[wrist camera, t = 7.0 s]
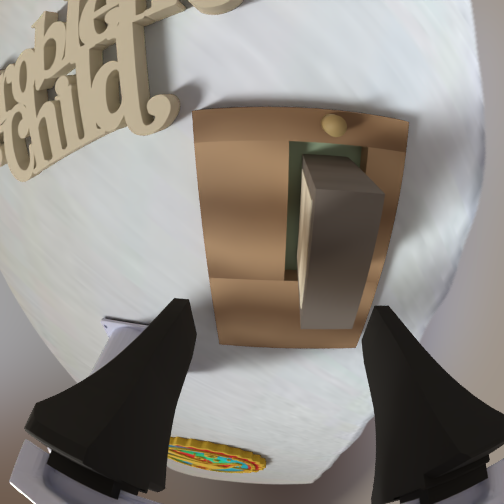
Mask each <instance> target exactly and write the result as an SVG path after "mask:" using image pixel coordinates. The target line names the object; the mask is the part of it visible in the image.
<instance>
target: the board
mask: <svg viewBox="0 0 504 504" xmlns="http://www.w3.org/2000/svg"><path fill="white" fill-rule="evenodd" d="M192 118H193V133H194V146H195V158H196V169H197V180H198V190H199V200H200V209H201V218H202V227H203V235H204V243H205V251H206V259H207V266H208V273H209V280H210V287H211V294H212V301H213V307H214V314H215V320H216V326H217V332H218V338H219V344H222V345H234V346H249V347H269V348H356V346H357V343H358V341H359V338H360V335H361V333H362V330H363V327H364V325H365V322H366V319H367V316H368V313H369V310H370V307H371V304H372V301H373V298H374V295H375V292H376V289H377V286H378V282H379V279H380V276H381V272H382V269H383V265H384V261H385V258H386V254H387V250H388V246H389V242H390V238H391V234H392V229H393V225H394V220H395V215H396V211H397V206H398V200H399V195H400V189H401V183H402V177H403V170H404V163H405V156H406V147H407V138H408V127H409V122H407V121H403V120H400V119H395V118H389V117H384V116H378V115H371V114H364V113H357V112H349V111H340V110H330V109H317V108H301V107H230V108H213V109H201V110H195V111H192ZM302 154H316V155H331V156H344V157H349V158H350V159H351V160H352V161H353V162H354V163H355V164H356V165H357V166H358V167H359V168H360V169H361V170H362V171H363V172H364V173H365V174H366V175H367V176H368V177H369V178H370V179H371V180H372V181H373V182H374V183H375V184H376V185H377V186H378V187H379V188H380V189H381V190H382V191H383V192H384V193H385V198H384V204H383V210H382V215H381V220H380V225H379V230H378V235H377V240H376V244H375V249H374V253H373V257H372V261H371V265H370V269H369V273H368V277H367V281H366V284H365V288H364V291H363V295H362V298H361V302H360V305H359V308H358V312H357V315H356V318H355V321H354V324H353V327H352V329H301V326H300V306H299V289H298V274H297V260H296V259H297V246H298V232H299V216H300V198H301V176H302Z"/></svg>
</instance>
